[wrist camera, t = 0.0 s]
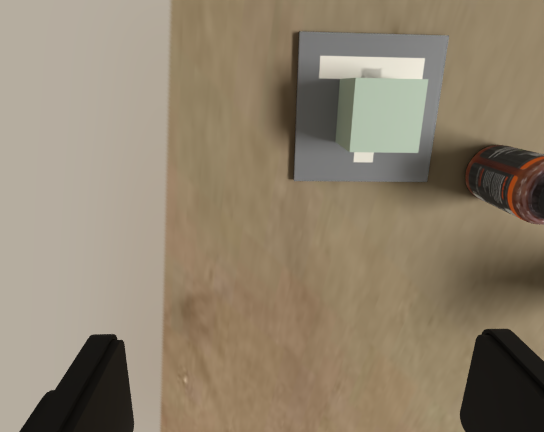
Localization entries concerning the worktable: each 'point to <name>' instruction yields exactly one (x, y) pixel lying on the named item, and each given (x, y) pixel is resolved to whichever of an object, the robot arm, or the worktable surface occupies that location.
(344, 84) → the sage block
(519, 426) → the robot arm
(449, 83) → the worktable surface
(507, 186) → the supplement bottle
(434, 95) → the board
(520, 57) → the worktable surface
